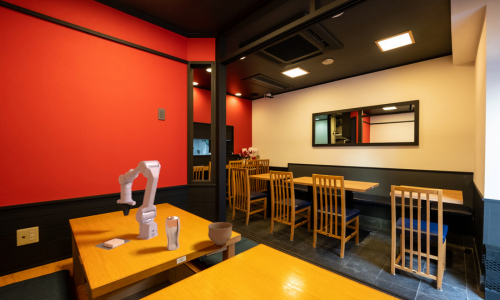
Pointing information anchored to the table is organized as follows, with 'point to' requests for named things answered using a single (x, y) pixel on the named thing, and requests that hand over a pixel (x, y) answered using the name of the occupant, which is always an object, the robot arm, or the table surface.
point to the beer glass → (172, 232)
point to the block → (114, 243)
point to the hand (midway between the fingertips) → (126, 215)
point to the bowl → (220, 232)
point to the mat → (110, 247)
